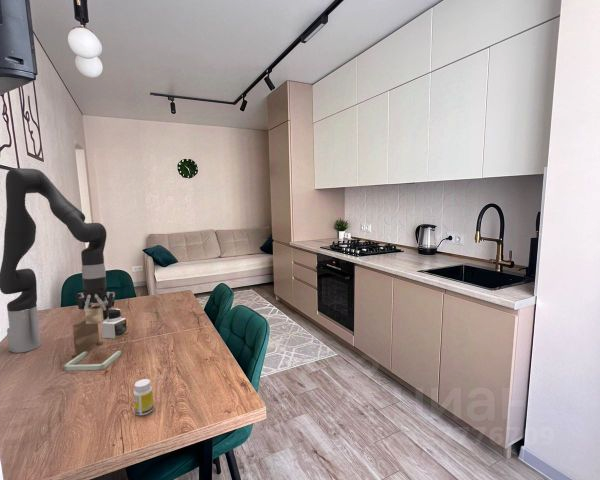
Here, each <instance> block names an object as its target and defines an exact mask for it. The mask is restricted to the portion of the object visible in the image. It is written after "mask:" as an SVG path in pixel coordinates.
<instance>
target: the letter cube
mask: <svg viewBox="0 0 600 480" xmlns="http://www.w3.org/2000/svg"><path fill="white" fill-rule="evenodd" d="M85 317H86V324H98V325H99V324H101V323H103V322H104V321H106V320H107V319H109V317H108V318H107V319H106V320H104V319H103V308H102V307H101V305H99V304H94V305H93V304H92V306H91V307H89V308H87V309H85V311H84V318H85Z"/></svg>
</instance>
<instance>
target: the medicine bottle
mask: <svg viewBox="0 0 600 480" xmlns="http://www.w3.org/2000/svg"><path fill="white" fill-rule="evenodd" d="M100 324H101V338H102V339H112V340H113V339H115V340H116V339H118V338H120V337H121V336H123V335H125V334H127V333H128V329H127V328H128V327H127V319H126V318H125V317H122V311H121V309H120V308H110V309H109V319H107V320H106V321H104V322H103V323H100Z"/></svg>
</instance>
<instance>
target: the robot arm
mask: <svg viewBox="0 0 600 480" xmlns="http://www.w3.org/2000/svg"><path fill="white" fill-rule="evenodd" d="M27 194H39V195H41V196H43V197H44V198H45V199H46V200H47V201H48V203H49V208H50V211H51V212H52V214H53V216H54V217H56V218H57V219H58V220H59V221H60V222H62V223H63V224H64V225H65V226H66V227H67V229H68V230H69V232H70V233H71V235H72V236H73V238H74V239H75V240H76V241H78V242H81V243H85V244H86V243H88V245H87V247H86V248H84V249H82V250H81V253H80V254H81V276H82V280H81V281H82V289H83V292H78V293H76V294H75V295H74V296H75V301H76V303H77V307H78V310H83V311H84V312H85V309H87V308H89V307H91V306H93V304H94V303H97V304H98V305H101V307H102V308H103V319H104V320H106V319H107V318H108V317H109V310H110V309H112V308H113V307H114V306H115V303H116V302H115V301H116V295H117V293H116V291H111V292H110V291H108V289H107V272H106V266H105V258H104V257H105V256H104V251H105V246H106V241H107V229H106V228H105V226H104V225H103V223H99V222H88V223H87V222H85V220H86V216H85V214H84V213H83V212H82V211H81V210H80V209H78V207H76V206H75V205H74V204H73V203H71V202H70V200H68V199H67V198H66V197H65V196H64V195H63V194H62V193H61V192H60V190H59V189H58V188H57V187H56V185H55V184H54V183H53V182H52V181H51V180H50V178H49V177H48V176H47V175H46V174H45V173H44V172H42V170H40V169H37V168H23V167H22V168H21V167H20V168H19V167H17V168H15V167H14V168H11V169H9V170H8V171H7V173H6V176H5V196H6V197H5V200H6V214H5V215H6V217H5V225H4V235H3V236H4V237H3V238H4V239H3V253H2V254H3V255H2V261H1V266H0V292H1V293H2V294H4V295H13V294H19V293H21V294H20V295H19V296H17V297H16V298H15V299H13V300H11V301H9V302H7V304H6V308H7V319H8V327H7V329H6V332H7V341H8V352H12V353H14V354H19V353H26V352H30V351H33V350H36V349H38V348H39V347H40V346H41V345H42V343H41V335H40V326H39V325H40V324H39V315H38V305H37V301H38V293H37V292H38V291H37V290H38V289H37V287H38V286H37V285H38V284H37V277H36V274H35V271H34V270H33V269H31V268H21V269H17V267H18V265H19V263H20V262H21V260H22V258H24V256H26V254H27V253H28V252H29V251H30V249H31V248H32V247H33V245H34V244H35V242H36V234H37V225H36V222H35V220H34V219H33V217H32V216H31V214H30V213H29V212H28V209H27V206H26V195H27ZM84 298H85V299H86V300H85V299H84ZM107 298H108V300H107ZM85 318H86V317H85V316H84V319H85Z"/></svg>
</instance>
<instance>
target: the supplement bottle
mask: <svg viewBox="0 0 600 480" xmlns="http://www.w3.org/2000/svg"><path fill="white" fill-rule="evenodd" d="M153 394H154V393H153V387H152V386H151V380H150V379H147V378H145V379H143V378H142V379H139V380H137V381H136V382H135V383H134V391H133V401H134V404H133V405H134V414H135V415H137V416H145V415H148V414H150V413H151V412H152V411H153V410H154V395H153Z"/></svg>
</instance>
